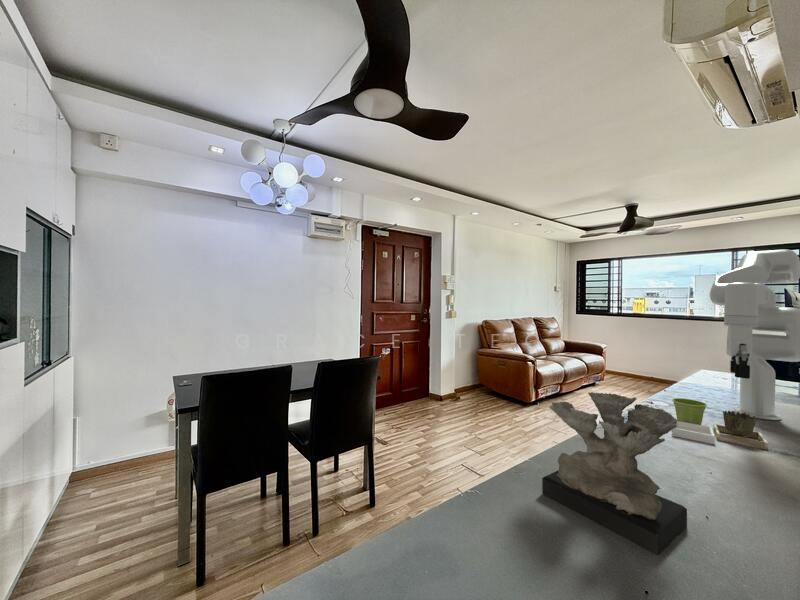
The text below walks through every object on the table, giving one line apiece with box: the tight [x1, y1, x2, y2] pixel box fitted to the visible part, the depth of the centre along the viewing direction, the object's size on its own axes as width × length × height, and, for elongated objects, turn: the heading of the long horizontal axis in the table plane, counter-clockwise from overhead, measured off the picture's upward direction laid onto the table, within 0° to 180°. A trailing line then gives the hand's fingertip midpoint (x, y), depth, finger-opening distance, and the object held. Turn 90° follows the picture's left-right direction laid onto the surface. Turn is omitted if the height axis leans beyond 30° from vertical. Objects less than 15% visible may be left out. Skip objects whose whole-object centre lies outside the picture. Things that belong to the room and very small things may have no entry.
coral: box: [541, 391, 688, 556], centre depth 72 cm, size 25×20×21 cm
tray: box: [671, 421, 716, 445], centre depth 110 cm, size 10×10×2 cm
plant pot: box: [671, 397, 708, 425], centre depth 118 cm, size 9×9×9 cm
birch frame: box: [712, 423, 769, 451], centre depth 108 cm, size 11×11×2 cm
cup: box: [722, 410, 757, 439], centre depth 108 cm, size 8×7×8 cm
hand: (739, 375), depth 108 cm, fingers open, 9 cm apart
